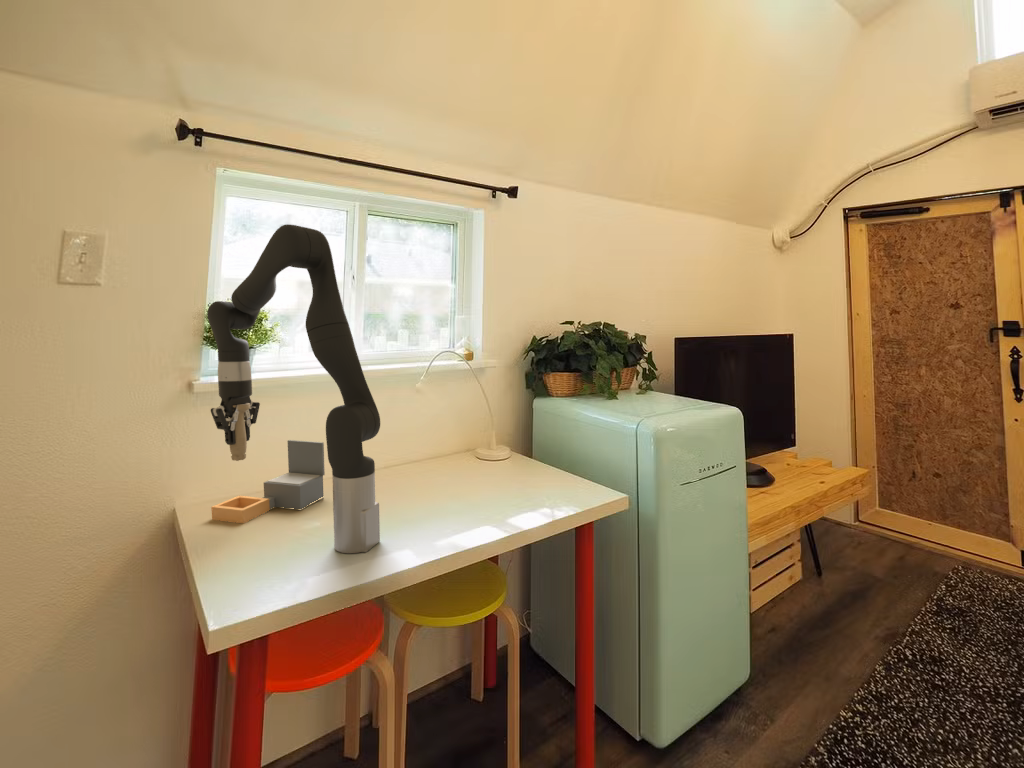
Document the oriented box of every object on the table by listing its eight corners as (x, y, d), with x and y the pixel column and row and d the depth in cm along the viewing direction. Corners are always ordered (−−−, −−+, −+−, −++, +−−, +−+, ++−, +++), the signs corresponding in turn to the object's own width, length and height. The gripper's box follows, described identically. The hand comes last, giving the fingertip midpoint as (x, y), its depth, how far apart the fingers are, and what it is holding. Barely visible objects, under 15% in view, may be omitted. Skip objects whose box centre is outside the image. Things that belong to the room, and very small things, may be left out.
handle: (249, 461, 119) (247, 405, 117) (222, 462, 117) (219, 405, 115) (254, 456, 123) (252, 402, 122) (228, 458, 121) (225, 403, 120)
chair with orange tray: (325, 497, 136) (323, 442, 134) (269, 526, 114) (266, 461, 113) (275, 492, 140) (272, 438, 138) (212, 519, 118) (208, 456, 117)
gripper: (223, 381, 110) (227, 449, 112) (267, 377, 124) (270, 437, 126) (198, 380, 112) (202, 447, 114) (245, 376, 126) (247, 436, 127)
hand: (238, 442), depth 120 cm, fingers closed on handle, 4 cm apart
